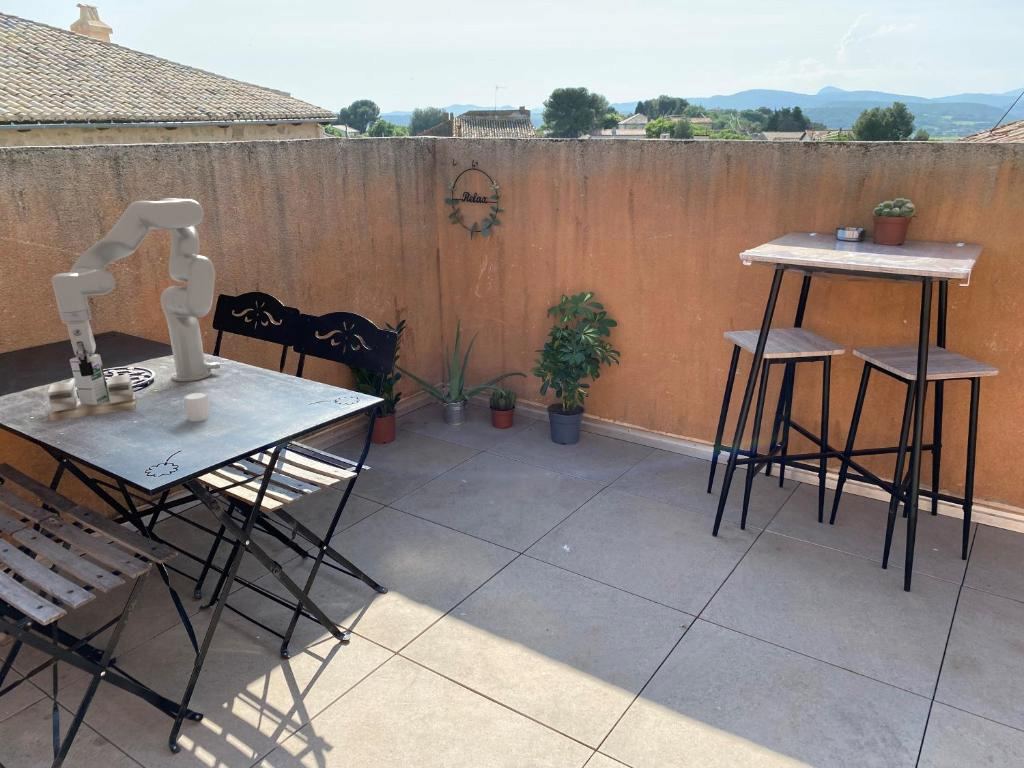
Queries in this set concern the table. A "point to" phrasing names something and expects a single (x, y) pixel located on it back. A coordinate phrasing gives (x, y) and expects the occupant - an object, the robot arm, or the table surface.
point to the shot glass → (197, 406)
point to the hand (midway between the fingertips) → (89, 370)
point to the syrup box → (90, 382)
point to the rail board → (70, 407)
